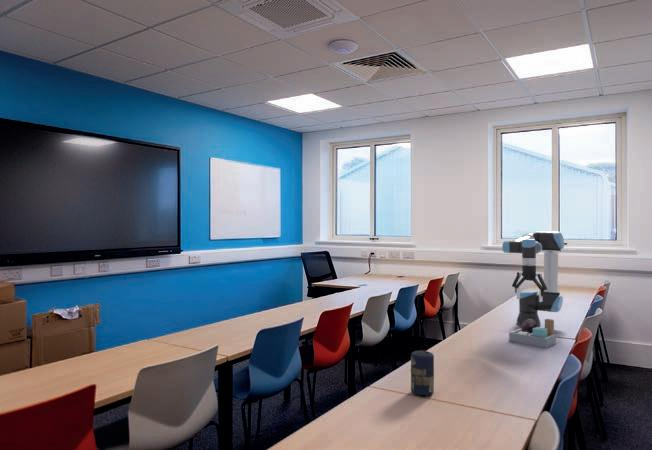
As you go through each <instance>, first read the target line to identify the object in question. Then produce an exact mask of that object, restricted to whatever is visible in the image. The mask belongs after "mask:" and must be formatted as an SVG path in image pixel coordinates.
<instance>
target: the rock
mask: <svg viewBox="0 0 652 450" xmlns="http://www.w3.org/2000/svg"><path fill="white" fill-rule="evenodd" d="M536 327H537V323H536V321H535V320H533V319H528V320H526V321H524V322H523V323H522V325H520V329H522V332H528V334H531V333H533V328H536Z"/></svg>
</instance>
